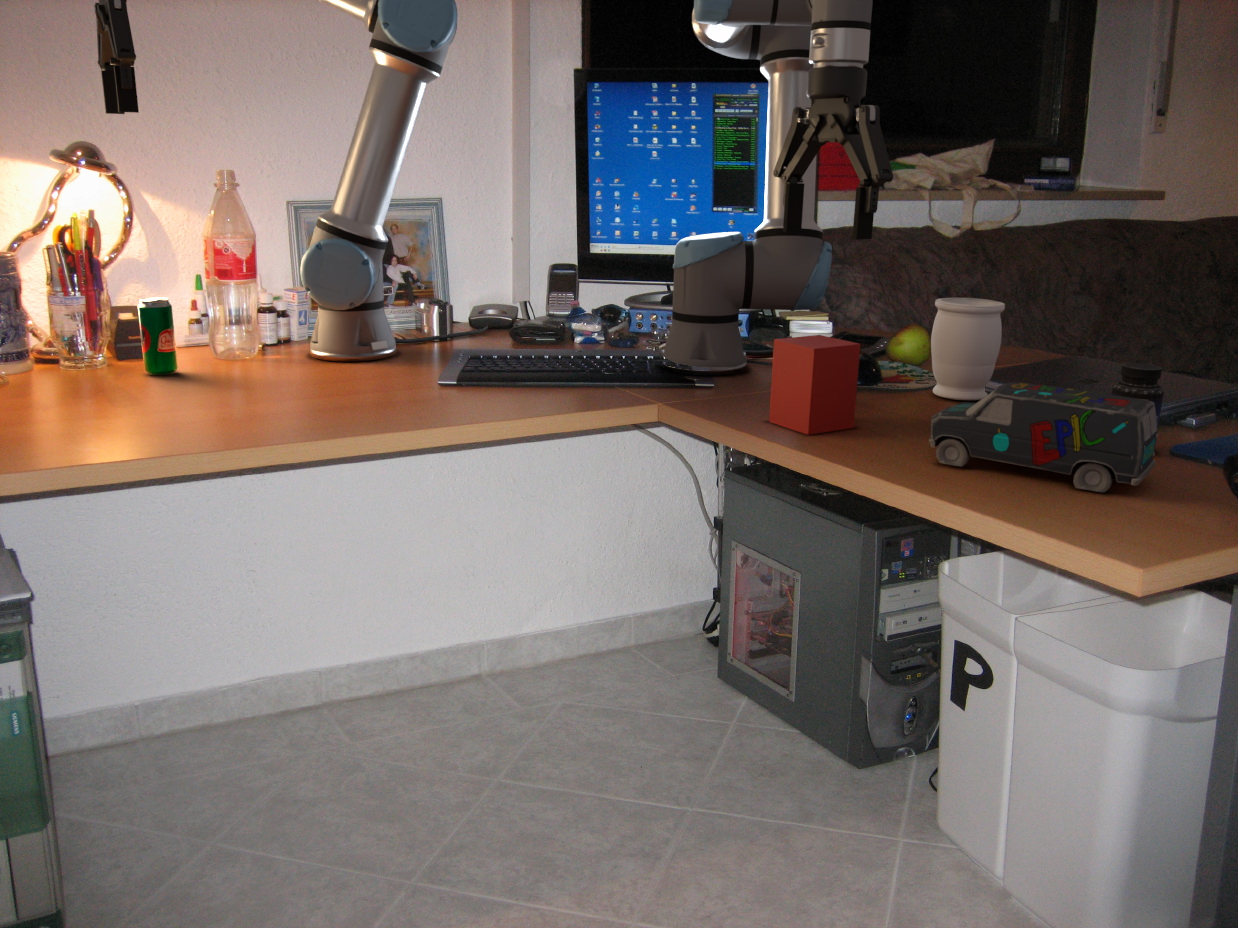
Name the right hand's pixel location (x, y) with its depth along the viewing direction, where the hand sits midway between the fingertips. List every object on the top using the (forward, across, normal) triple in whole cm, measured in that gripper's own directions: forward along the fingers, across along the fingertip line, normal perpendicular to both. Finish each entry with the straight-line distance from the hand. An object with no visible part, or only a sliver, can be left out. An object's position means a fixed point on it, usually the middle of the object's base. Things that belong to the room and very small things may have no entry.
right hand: (825, 235), depth 143 cm
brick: (+26, 0, 0) cm, 26 cm away
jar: (+26, -3, +34) cm, 43 cm away
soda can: (+26, -77, -73) cm, 109 cm away
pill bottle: (+26, +30, +28) cm, 49 cm away
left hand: (-14, -81, -74) cm, 110 cm away
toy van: (+26, +30, +9) cm, 41 cm away
